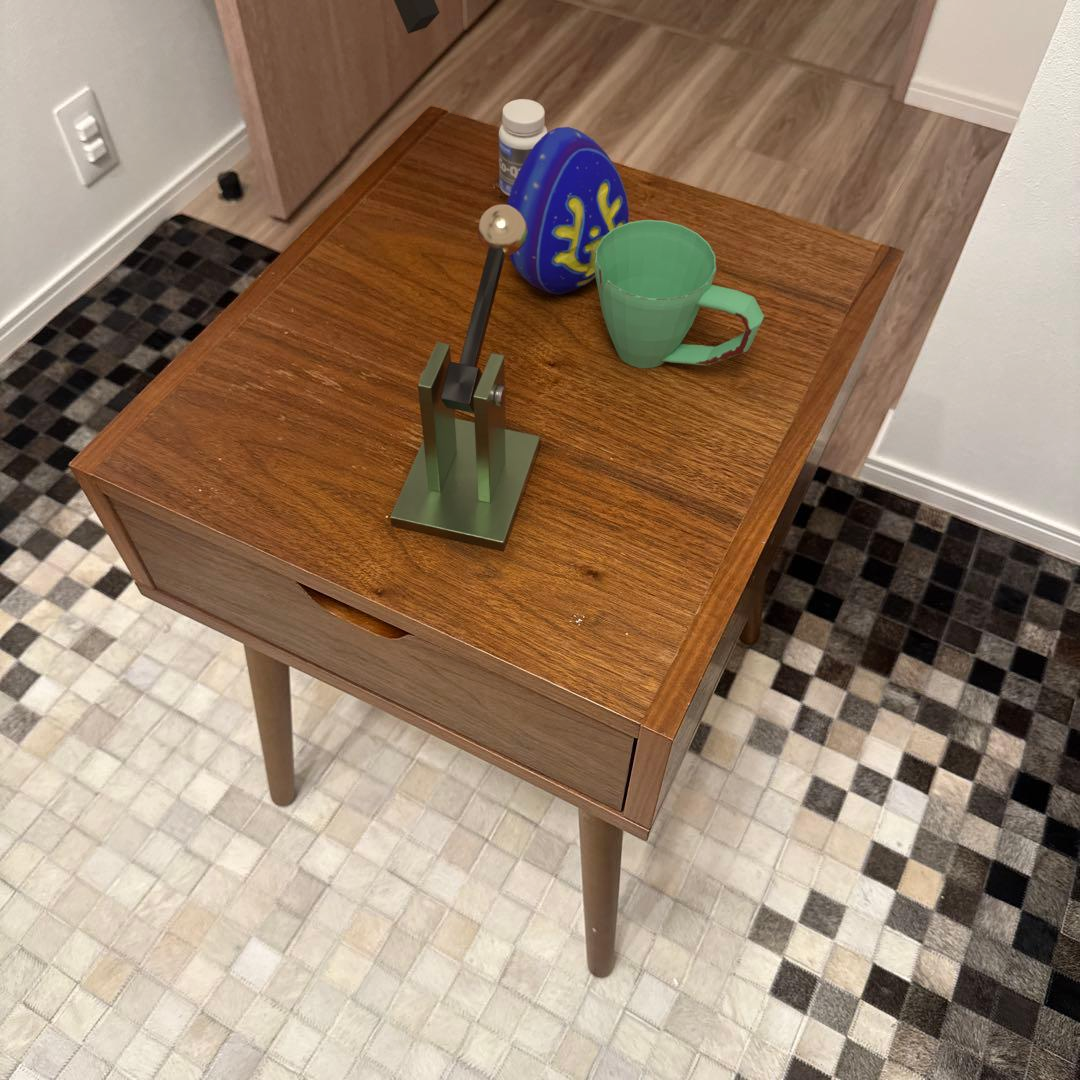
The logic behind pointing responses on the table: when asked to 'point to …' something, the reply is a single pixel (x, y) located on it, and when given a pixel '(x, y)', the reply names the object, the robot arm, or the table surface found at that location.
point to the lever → (483, 302)
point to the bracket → (466, 462)
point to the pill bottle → (518, 138)
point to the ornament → (565, 209)
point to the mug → (665, 294)
